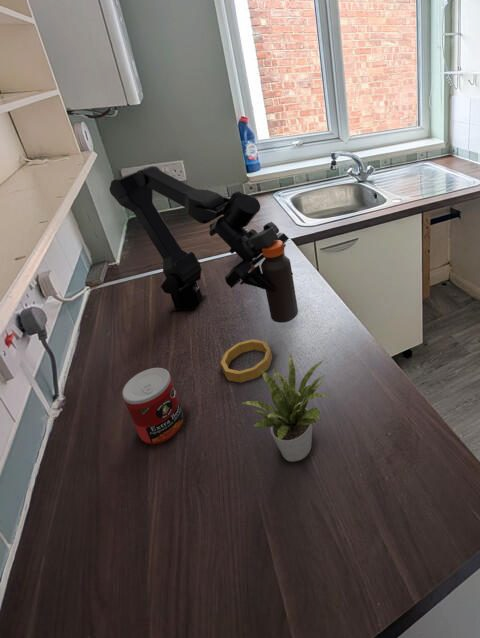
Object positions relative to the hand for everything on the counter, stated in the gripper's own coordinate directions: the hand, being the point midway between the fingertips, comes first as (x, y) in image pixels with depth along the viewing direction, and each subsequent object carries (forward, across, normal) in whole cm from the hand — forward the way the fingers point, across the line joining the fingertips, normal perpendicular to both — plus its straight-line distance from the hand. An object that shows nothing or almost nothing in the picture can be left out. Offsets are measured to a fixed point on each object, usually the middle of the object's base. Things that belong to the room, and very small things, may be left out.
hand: (283, 283), depth 97 cm
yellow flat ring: (+8, -14, +11) cm, 19 cm away
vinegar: (+6, 0, +8) cm, 10 cm away
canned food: (+4, -32, +15) cm, 36 cm away
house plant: (+24, -27, -5) cm, 36 cm away
